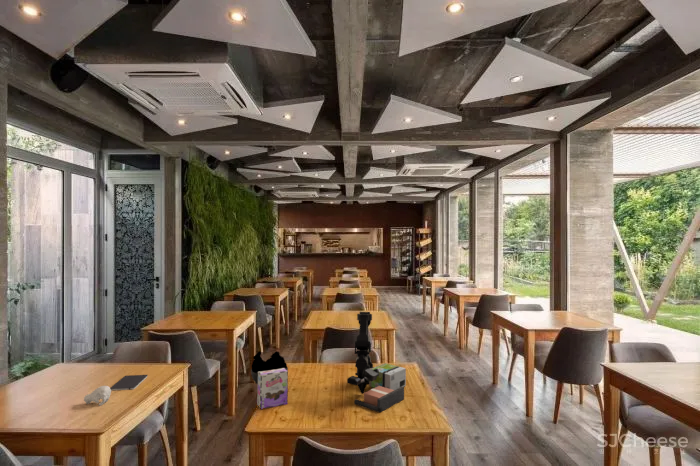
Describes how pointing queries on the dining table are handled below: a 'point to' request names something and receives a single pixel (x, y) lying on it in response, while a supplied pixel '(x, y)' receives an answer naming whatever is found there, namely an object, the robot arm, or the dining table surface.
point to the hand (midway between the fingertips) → (362, 393)
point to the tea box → (389, 377)
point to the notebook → (128, 382)
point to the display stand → (384, 401)
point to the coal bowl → (266, 364)
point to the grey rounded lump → (98, 395)
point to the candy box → (272, 388)
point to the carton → (375, 394)
